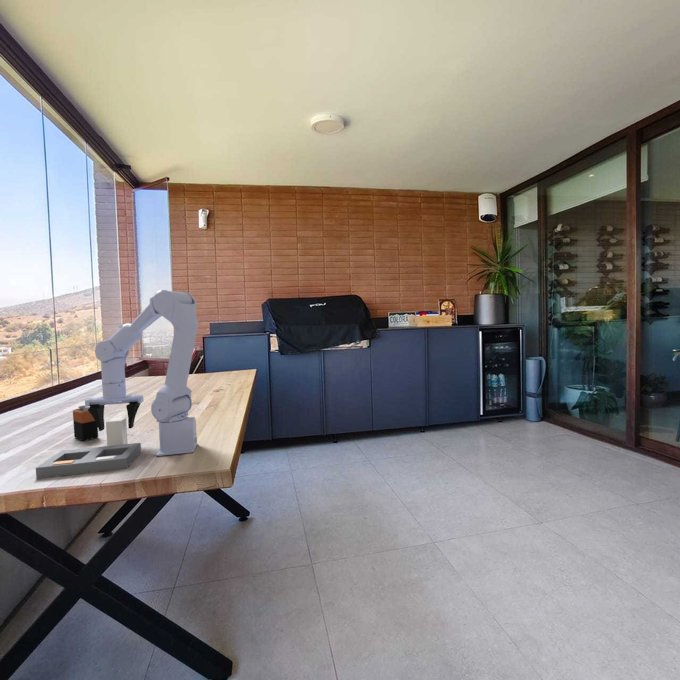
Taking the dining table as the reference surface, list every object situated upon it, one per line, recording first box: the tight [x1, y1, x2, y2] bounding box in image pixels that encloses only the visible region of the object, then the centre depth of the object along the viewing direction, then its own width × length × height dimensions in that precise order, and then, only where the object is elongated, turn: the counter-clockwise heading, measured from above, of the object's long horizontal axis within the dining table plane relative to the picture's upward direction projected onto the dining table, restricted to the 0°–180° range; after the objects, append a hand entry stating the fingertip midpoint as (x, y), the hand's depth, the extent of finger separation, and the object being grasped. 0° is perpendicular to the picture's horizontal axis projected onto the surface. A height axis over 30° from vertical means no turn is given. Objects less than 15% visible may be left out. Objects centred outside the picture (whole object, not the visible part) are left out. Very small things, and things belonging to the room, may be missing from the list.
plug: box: [105, 416, 129, 446], centre depth 105 cm, size 4×4×8 cm
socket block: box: [35, 442, 142, 479], centre depth 92 cm, size 19×12×3 cm, turn 104°
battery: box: [72, 405, 99, 442], centre depth 115 cm, size 4×7×10 cm, turn 57°
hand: (116, 428), depth 105 cm, fingers open, 7 cm apart
